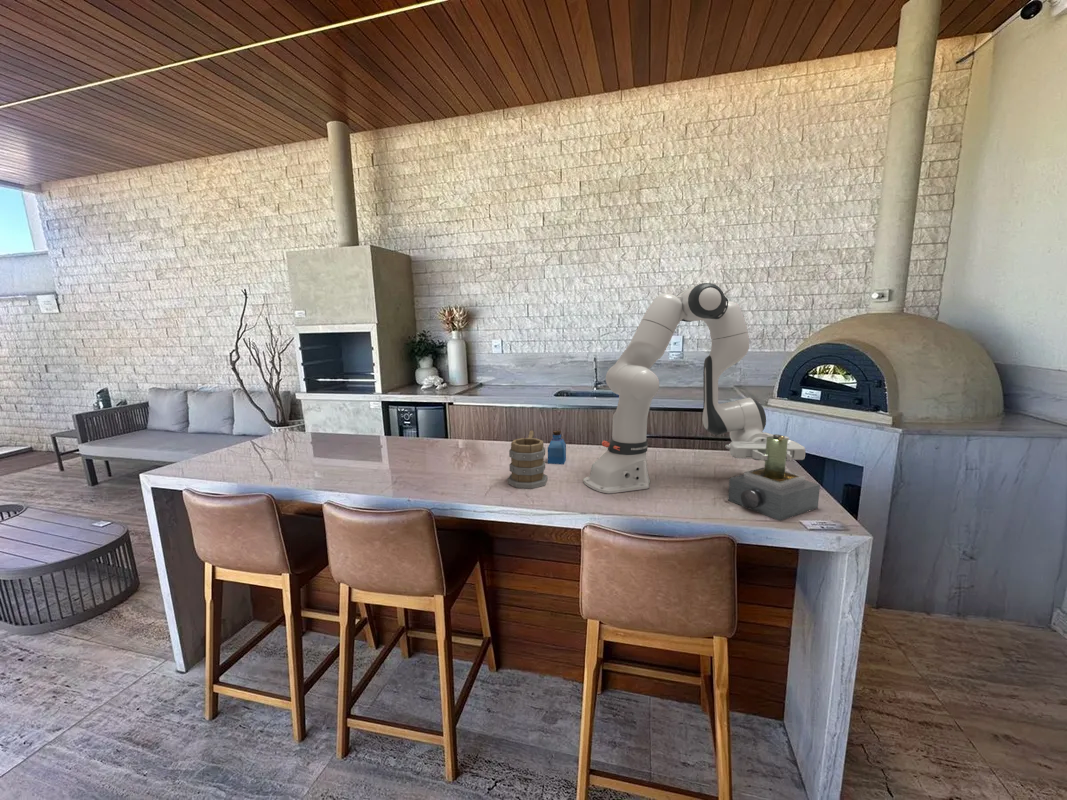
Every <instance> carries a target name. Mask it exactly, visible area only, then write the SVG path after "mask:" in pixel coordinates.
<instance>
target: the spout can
mask: <svg viewBox="0 0 1067 800" xmlns="http://www.w3.org/2000/svg"><path fill="white" fill-rule="evenodd" d="M784 436H785V435H782V434H773V436H771V437H767V441H766V454H767V455H768V458H767V459H768V460H767V461H764V467H763V468H764V476H766V477H768V478H772V479H784V478H785V471H786V464H787V461H786V455H787V443H788V439H786V438H784Z"/></svg>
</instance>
